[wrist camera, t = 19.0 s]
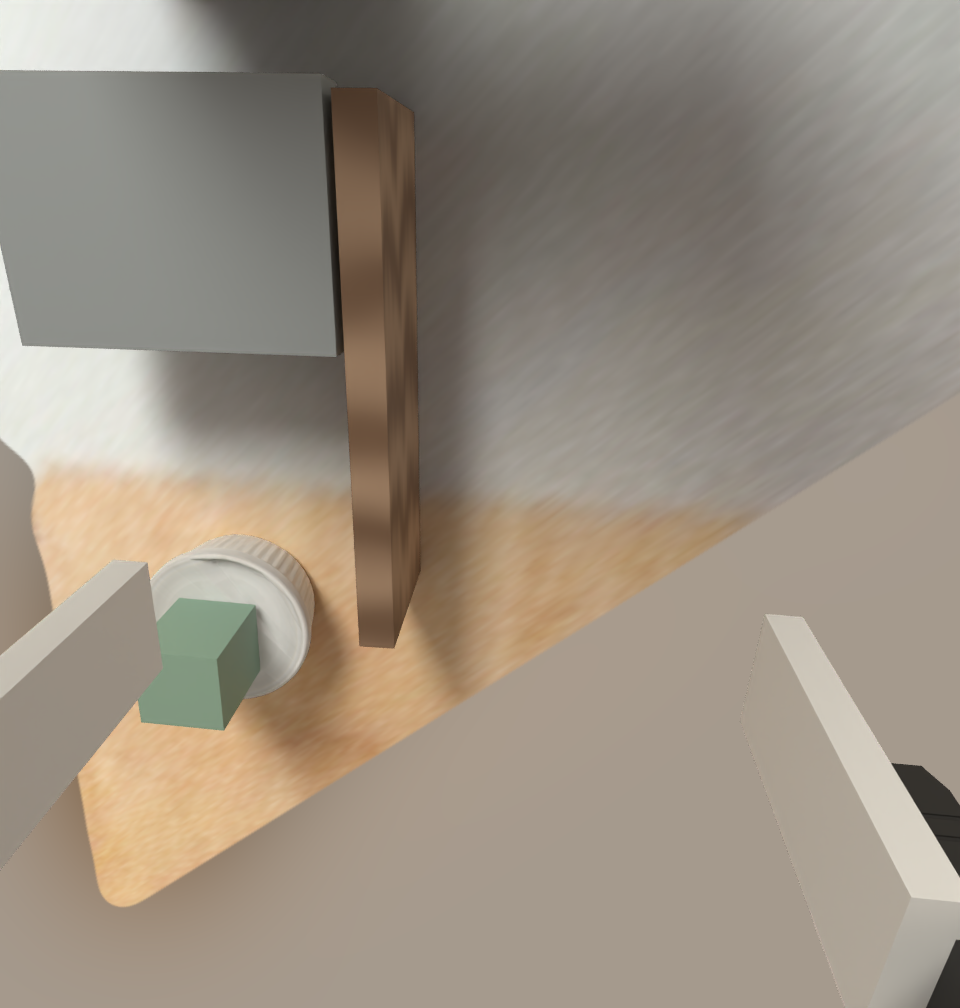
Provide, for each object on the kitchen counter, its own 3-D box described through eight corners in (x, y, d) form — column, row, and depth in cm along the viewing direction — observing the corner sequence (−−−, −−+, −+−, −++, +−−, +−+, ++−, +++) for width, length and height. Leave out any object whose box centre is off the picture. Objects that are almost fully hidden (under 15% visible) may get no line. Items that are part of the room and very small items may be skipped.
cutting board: (377, 112, 40) (330, 87, 31) (414, 112, 40) (377, 88, 31) (391, 569, 51) (359, 646, 42) (420, 570, 51) (393, 648, 42)
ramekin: (347, 552, 51) (326, 590, 46) (307, 676, 55) (283, 723, 50) (192, 496, 50) (153, 528, 45) (163, 626, 54) (125, 668, 50)
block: (179, 597, 47) (130, 651, 42) (255, 604, 47) (216, 659, 41) (187, 663, 49) (141, 722, 43) (260, 670, 49) (224, 730, 43)
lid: (1, 78, 35) (-39, 70, 32) (336, 82, 33) (320, 73, 31) (53, 336, 39) (22, 345, 37) (349, 347, 38) (336, 356, 36)
